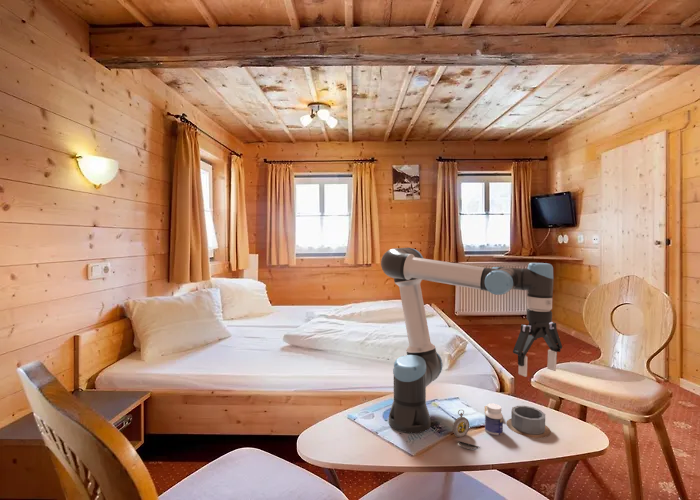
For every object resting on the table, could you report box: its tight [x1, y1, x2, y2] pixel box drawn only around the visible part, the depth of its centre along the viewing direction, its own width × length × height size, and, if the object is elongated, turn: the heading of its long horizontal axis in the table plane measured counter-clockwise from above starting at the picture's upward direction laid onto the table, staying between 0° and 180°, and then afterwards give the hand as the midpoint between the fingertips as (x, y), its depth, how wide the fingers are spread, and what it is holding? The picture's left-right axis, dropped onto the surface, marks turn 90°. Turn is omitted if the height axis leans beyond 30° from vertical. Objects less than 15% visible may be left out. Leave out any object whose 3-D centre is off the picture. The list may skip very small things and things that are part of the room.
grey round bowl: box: [510, 405, 546, 435], centre depth 127 cm, size 10×10×5 cm
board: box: [505, 418, 552, 439], centre depth 128 cm, size 14×14×1 cm
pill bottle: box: [484, 402, 504, 437], centre depth 125 cm, size 6×6×10 cm
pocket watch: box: [452, 409, 479, 450], centre depth 120 cm, size 8×8×10 cm
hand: (537, 372), depth 121 cm, fingers open, 13 cm apart
